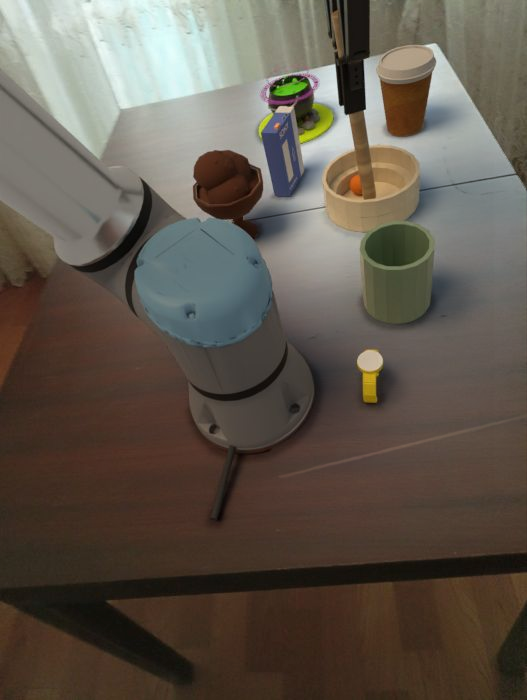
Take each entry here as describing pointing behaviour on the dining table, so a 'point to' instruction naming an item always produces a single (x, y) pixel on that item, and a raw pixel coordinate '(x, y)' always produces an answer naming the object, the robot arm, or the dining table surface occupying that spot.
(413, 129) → the disposable coffee cup
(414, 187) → the mixing bowl
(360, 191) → the ball
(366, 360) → the watch
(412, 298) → the crock
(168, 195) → the dining table surface
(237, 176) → the ice cream bowl
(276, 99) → the toy cauldron
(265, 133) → the walkman
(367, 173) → the stick
